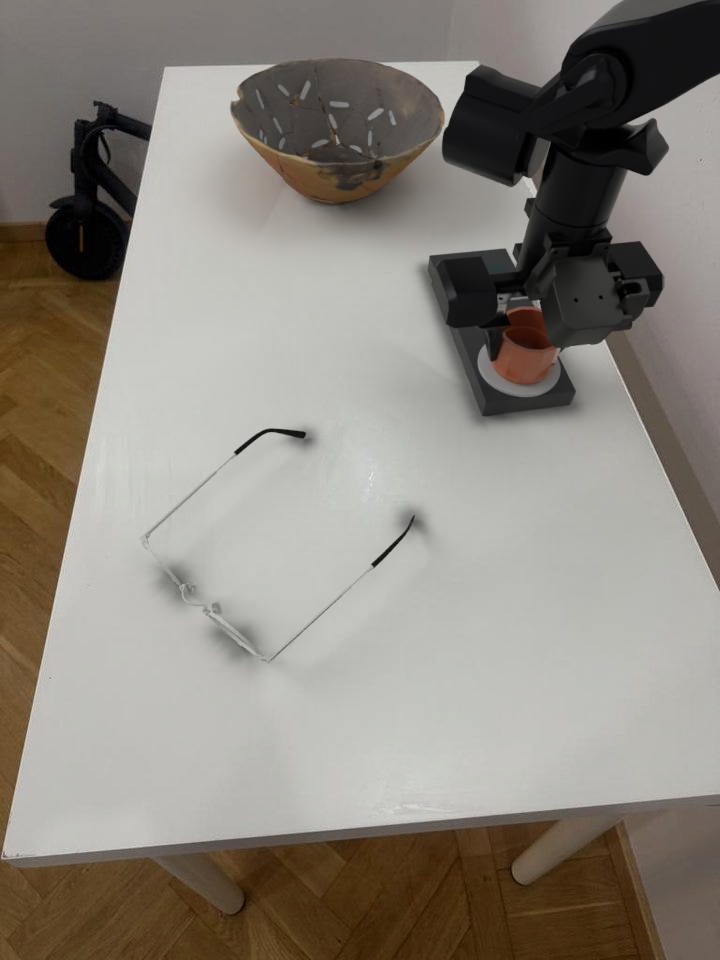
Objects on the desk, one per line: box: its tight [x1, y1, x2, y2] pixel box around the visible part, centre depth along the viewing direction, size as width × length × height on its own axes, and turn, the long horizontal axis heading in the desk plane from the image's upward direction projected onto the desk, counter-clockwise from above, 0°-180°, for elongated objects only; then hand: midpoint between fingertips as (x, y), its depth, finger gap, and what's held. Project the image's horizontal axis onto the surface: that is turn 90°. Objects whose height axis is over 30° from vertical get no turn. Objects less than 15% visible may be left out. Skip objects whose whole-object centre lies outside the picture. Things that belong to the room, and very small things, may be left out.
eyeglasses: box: [139, 427, 416, 664], centre depth 51 cm, size 16×19×5 cm
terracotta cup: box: [491, 306, 561, 385], centre depth 60 cm, size 6×6×4 cm
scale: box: [427, 247, 577, 417], centre depth 67 cm, size 22×9×3 cm, turn 10°
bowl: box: [229, 57, 446, 205], centre depth 78 cm, size 25×25×10 cm
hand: (522, 354), depth 61 cm, fingers closed on terracotta cup, 6 cm apart
